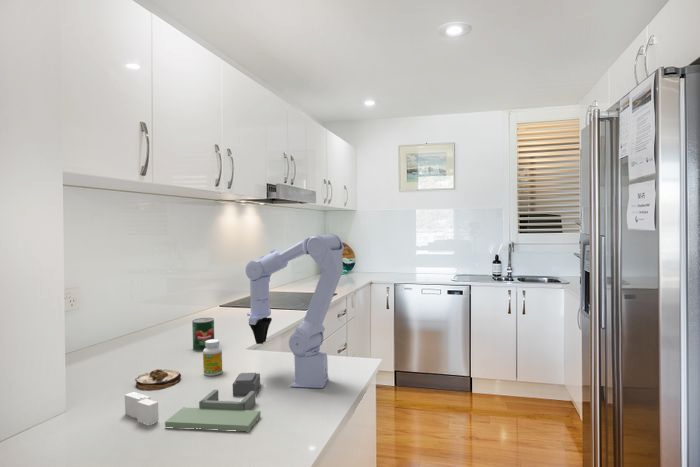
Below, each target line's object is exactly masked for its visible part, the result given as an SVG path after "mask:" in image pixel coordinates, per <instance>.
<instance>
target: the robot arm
mask: <svg viewBox="0 0 700 467" xmlns="http://www.w3.org/2000/svg"><path fill="white" fill-rule="evenodd" d="M344 249H345V246H344V243H343V242H342V239H341V238H340V237H339V236H338V235H337V234H334V233H330V234H322V235H320V234H316V235H312V236H310V237H305V238H304V239H302V240H300V241H299V242H298V243H296V244H294V245H292V246H290V247H289V248H287V249H285V250H280V249H272V250H271V251H269V253H268V254H267V255H265V256H264V255H262V256H260V257H259V259H258V260H250V261H249V262H248V263H247V264H246V266H245V275H246V276H247V278H248V279H249V287H250V288H249V292H250V301H249V302H250V312H248V313H247V314H246V315H247V317H248V325H249V327H250V328H251V331H252V333H253V337H254V340H255V343H256V345H264V343H266V341H267V336H268V331H269V328H270V325H271V323H272V322H273V321H272V320H273V319H272V317H270V316H271V315H272V308H270V282H271V275H272V274H274V273H277V272H279V271H281V270H283V269H285V268H286V267H287V266H288V264H289V262H290V261H292V260H295V259H297V258H299V257H301V256H304V255H309V256H310V257H311V258H312V260H313V261H314V262H315V263H316V264H317V266H318V267H319V269H320V270H321V273H320V277H319V278H318V282H317V284H316V286H315V290H314V292H313V294H312V297H311V300H310V303H309V305H308V308H307V310H306V313H305V316H304V318H303V320H302V321H301V323H300V324H298V326H297V327H296V329H295V331H294V332H293V333H292V334H291V335H290V336H289V339H288V348H289V349H290V351H291V352H292V354H293V356H294V380H293V382H292V383H291V384H290V387H291V388H311V389H312V388H314V389H323V388H325V386H326V383H327V382H328V380H329V377H328V376H329V372H328V369H329V368H328V367H329V366H328V355H327V354H328V353H325V352H320V350H321V345H323V343H324V332H325V330H326V328H325V326H324V325H323V323H324V320H325V318H326V316H327V313H328V311H329V307H330V305H331V302H332V300H333V297H334V295H335V293H336V289H337V287H338V285H339V282H340V280H341V277H342V274H343V271H344V262H343V261H344V260H343V252H344Z"/></svg>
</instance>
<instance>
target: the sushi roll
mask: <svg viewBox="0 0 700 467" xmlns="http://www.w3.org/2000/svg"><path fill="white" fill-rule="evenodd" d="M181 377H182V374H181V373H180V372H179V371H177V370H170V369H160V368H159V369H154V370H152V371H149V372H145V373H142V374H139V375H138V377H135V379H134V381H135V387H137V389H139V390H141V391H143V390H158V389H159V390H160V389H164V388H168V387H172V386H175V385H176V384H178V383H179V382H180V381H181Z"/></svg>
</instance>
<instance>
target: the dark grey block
mask: <svg viewBox="0 0 700 467" xmlns="http://www.w3.org/2000/svg"><path fill="white" fill-rule="evenodd" d="M260 386H261V373H257V372H241V373H239V374H238V375H237V377H236V378H235V380H234V381H233V383H232V397H244V396H246V395H247V394H248V393H249V392H250V391H255V395H257V393H258V390H259V388H260Z"/></svg>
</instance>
